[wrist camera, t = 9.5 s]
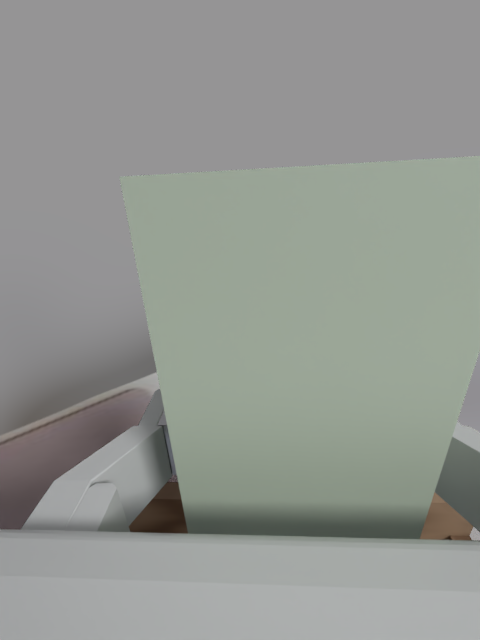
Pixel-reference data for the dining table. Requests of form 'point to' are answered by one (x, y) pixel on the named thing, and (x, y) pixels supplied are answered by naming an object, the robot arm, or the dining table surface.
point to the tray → (170, 518)
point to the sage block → (311, 338)
